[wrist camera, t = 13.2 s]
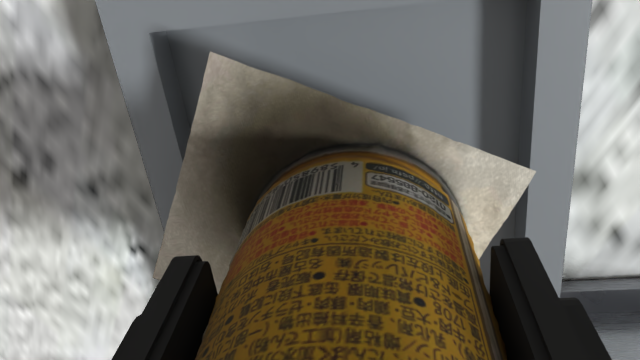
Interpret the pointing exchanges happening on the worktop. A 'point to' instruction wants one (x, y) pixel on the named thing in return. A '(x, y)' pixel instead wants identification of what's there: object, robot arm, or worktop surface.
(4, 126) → the worktop surface
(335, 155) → the condiment
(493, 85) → the tray
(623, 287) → the block
